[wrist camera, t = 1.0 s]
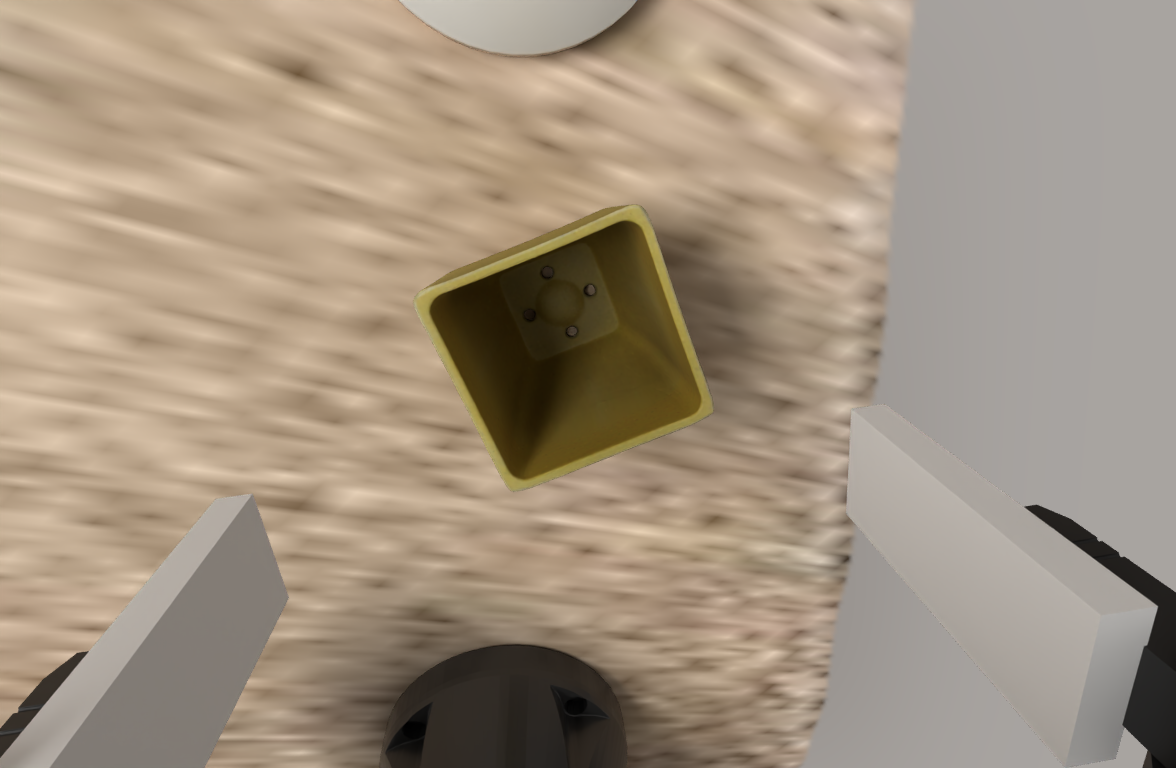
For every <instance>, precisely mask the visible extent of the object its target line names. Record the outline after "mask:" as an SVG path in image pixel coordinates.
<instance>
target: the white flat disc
mask: <svg viewBox="0 0 1176 768" xmlns="http://www.w3.org/2000/svg"><path fill="white" fill-rule="evenodd" d="M399 1H400V2H401V3H402V4H403V5H404V6H405V7H406V8H407V9H408V10H409V11H410V12H411V13H412V14H413V15H415V16H416V17H417V18H418V19H420V20H421V21H422V22H423V23H425V24H426V25H427V26H429V27H430V28H432V29H434V30H435V31H437V32H439V33H440V34H442V35H443V36H445V37H447V38H448V39H451V40H453V41H455V42H457V43H460V44H462V45H464V46H467V47H469V48H472V49H476V50H479V51H483V52H486V53H489V54H496V55H503V56H510V57H534V56H540V55H547V54H554V53H557V52H560V51H563V50H567V49H570V48H573V47H575V46H578V45H580V44H582V43H584V42H586V41H588V40H590V39H592V38H594V37H596V36H597V35H599V34H600V33H602V32H603V31H605V30H606V29H608V28H609V27H611V26H612V25H613V24H614V23H615V22H616V21H618V20H619V19H620V18H621V17H622V16H623V15H624V14H626V13H627V12H628V11H629V10H630V8H631V7H632V6H633V5H634V4H635V3H636V2H637V0H399Z"/></svg>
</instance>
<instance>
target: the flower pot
mask: <svg viewBox="0 0 1176 768" xmlns="http://www.w3.org/2000/svg"><path fill="white" fill-rule="evenodd" d="M544 267H550V268H551V269H552V270H553V275H552V277H550V278H544V277H543V276H542V269H543V268H544ZM587 285H593V286H594V287H595V293H594V294H593V295H592V296H588V295H586V294H585V292H584V289H585V287H586V286H587ZM413 304H414V308H415V310H416V312H417V314H418V317H419V318H420V320H421V322H422V324H423V326H424V328H425V330H426V331H427V333H428V335H429V337H430V339H431V341H432V343H433V345H434V347H435V349H436V351H437V353H438V355H439V357H440V358H441V360H442V362H443V364H444V366H445V368H446V370H447V372H448V374H449V375H450V377H451V379H452V381H453V383H454V385H455V387H456V389H457V391H458V393H459V395H460V397H461V399H462V401H463V403H464V405H465V407H466V409H467V411H468V413H469V415H470V417H471V419H472V421H473V423H474V425H475V426H476V428H477V430H478V432H479V434H480V436H481V438H482V440H483V442H484V444H485V446H486V449H487V451H488V452H489V454H490V456H491V458H492V460H493V462H494V464H495V466H496V468H497V470H498V472H499V474H500V476H501V478H502V479H503V481H504V483H505V484H506V486H507V487H508V488H509V490H510V491H513V492H515V491H522V490H526V489H529V488H532V487H535V486H537V485H540V484H542V483H545V482H548V481H550V480H553V479H556V478H558V477H561V476H563V475H566V474H569V473H571V472H573V471H576V470H578V469H581V468H583V467H586V466H588V465H591V464H593V463H596V462H598V461H601V460H604V459H606V458H609V457H611V456H614V455H616V454H618V453H621V452H623V451H626V450H628V449H631V448H633V447H636V446H639V445H641V444H644V443H647V442H649V441H652V440H654V439H656V438H659V437H662V436H664V435H667V434H670V433H673V432H675V431H678V430H680V429H683V428H685V427H688V426H690V425H692V424H694V423H696V422H698V421H700V420H702V419H704V418H706V417H708V416H709V415H711V414H712V413H713V411H714V404H713V399H712V396H711V393H710V391H709V388H708V385H707V382H706V379H705V376H704V373H703V371H702V368H701V365H700V363H699V360H698V357H697V354H696V352H695V349H694V346H693V343H692V340H691V337H690V335H689V332H688V329H687V326H686V323H685V320H684V318H683V315H682V312H681V309H680V306H679V303H678V300H677V297H676V294H675V291H674V288H673V286H672V283H671V280H670V277H669V274H668V270H667V267H666V264H665V261H664V258H663V255H662V252H661V249H660V246H659V243H658V240H657V237H656V234H655V231H654V228H653V226H652V223H651V221H650V218H649V216H648V214H647V212H646V210H645V209H644V208H643V207H641V206H639V205H626V206H617V207H610V208H605V209H602V210H600V211H598V212H595V213H593V214H591V215H589V216H586V217H584V218H582V219H580V220H577V221H575V222H573V223H570V224H568V225H566V226H563V227H561V228H558V229H556V230H554V231H551V232H549V233H547V234H544V235H542V236H540V237H537V238H535V239H532V240H530V241H527V242H525V243H522V244H520V245H517V246H515V247H512V248H510V249H507V250H505V251H502V252H500V253H497V254H495V255H492V256H490V257H487V258H484V259H482V260H479V261H477V262H474V263H472V264H469V265H466V266H464V267H461V268H459V269H456V270H454V271H452V272H450V273H448V274H447V275H445V276H443V277H442V278H440V279H439V280H437V281H436V282H434V283H433V284H431V285H429V286H428V287H426V288H425V289H423V290H421V291H420V292H419V293H418V294H417V295H416V296H415V298H414V300H413ZM528 309H531V310H533V311H534V312H535V317H534V318H533V319H532V320H527V319H526V318H525V317H524V312H525V311H526V310H528ZM570 326H574V327H575V328H577V334H576V335H575V336H573V337H570V336H568V335H567V333H566V330H567V328H568V327H570Z"/></svg>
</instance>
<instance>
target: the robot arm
mask: <svg viewBox="0 0 1176 768" xmlns="http://www.w3.org/2000/svg"><path fill="white" fill-rule="evenodd" d="M846 514H847V515H848V516H849V517H850V519H851V520H852V521H853V522H854V523H855V524H856V526H857V527H858V528H859V529H860V530H861V531H862V533H863V534H864V535H865V536H866V537H867V538H868V539H869V541H870V542H871V543H872V544H873V545H874V546H875V548H876V549H877V550H878V551H879V552H880V553H881V555H882V556H883V557H884V558H885V559H886V560H887V562H888V563H889V564H890V565H891V566H892V567H893V568H894V570H895V571H896V572H897V573H898V574H899V576H900V577H901V578H902V579H903V580H904V581H905V583H906V584H907V585H908V586H909V587H910V588H911V590H912V591H913V592H914V593H915V594H916V595H917V597H918V598H919V599H920V600H921V601H922V602H923V603H924V605H925V606H926V607H927V608H928V609H929V610H930V612H931V613H932V614H933V615H934V616H935V617H936V619H937V620H938V621H939V622H940V623H941V624H942V626H943V627H944V628H945V629H946V630H947V631H948V633H949V634H950V635H951V636H952V637H953V638H954V639H955V640H956V642H957V643H958V644H959V645H960V647H961V648H962V649H963V650H964V651H965V652H966V653H967V655H968V656H969V657H970V658H971V659H972V660H973V662H974V663H975V664H976V665H977V666H978V667H979V669H980V670H981V671H982V672H983V673H984V674H985V676H986V677H987V678H988V679H989V680H990V681H991V682H992V684H993V685H994V686H995V687H996V688H997V690H998V691H999V692H1000V693H1001V694H1002V695H1003V697H1004V698H1005V699H1006V700H1007V701H1008V702H1009V703H1010V705H1011V706H1012V707H1013V708H1014V709H1015V710H1016V712H1017V713H1018V714H1019V715H1020V716H1021V717H1022V718H1023V720H1024V721H1025V722H1026V723H1027V724H1028V726H1029V727H1030V728H1031V729H1032V730H1033V731H1034V733H1036V735H1037V736H1038V737H1039V738H1040V740H1042V742H1043V743H1044V744H1045V745H1046V746H1047V748H1048V749H1049V750H1050V751H1051V752H1052V753H1053V755H1054V756H1055V757H1056V758H1057V759H1058V760H1059V762H1060V763H1061V764H1062V765H1063V766H1064V767H1065V768H1067V767H1072V766H1078V765H1083V764H1089V763H1095V762H1101V761H1106V760H1112V759H1116V755H1117V752H1118V748H1119V744H1120V741H1121V737H1122V734H1123V730H1124V727H1125V728H1126V729H1127V730H1128V731H1129V732H1130V733H1131V734H1132V735H1133V736H1134V737H1135V738H1136V739H1137V740H1138V741H1139V742H1140V743H1141V744H1142V745H1143V746H1144V747H1145V748H1146V749H1147V750H1148V751H1147V755H1146V758H1145V761H1144V764H1143V768H1176V592H1174V591H1173V590H1171V589H1170V588H1169V587H1167V586H1166V585H1164V584H1163V583H1161V582H1160V581H1159V580H1157V579H1155V578H1154V577H1153V576H1151V575H1150V574H1149V573H1147V572H1146V571H1144V570H1143V569H1141V568H1140V567H1138V566H1137V565H1136V564H1134V563H1133V562H1131V561H1130V560H1129V559H1127V558H1126V557H1120V556H1119V552H1117V551H1116V550H1114V549H1113V548H1111V547H1110V546H1109V545H1107V544H1106V543H1104V542H1103V541H1100V542H1099V541H1098V540H1097V537H1096V536H1094V535H1093V534H1091V533H1090V532H1088V531H1087V530H1086V529H1084V528H1083V527H1081V526H1080V525H1078V524H1077V523H1076V522H1074V521H1073V520H1071V519H1069V518H1067V517H1065V516H1062V515H1060V514H1058V513H1055V512H1053V511H1050V510H1048V509H1046V508H1043V507H1041V506H1039V505H1032V506H1026V507H1023V506H1021V505H1020V504H1019V503H1017V502H1016V501H1015V500H1013V499H1012V498H1011V497H1009V496H1008V495H1007V494H1005V493H1004V492H1003V491H1001V490H1000V489H999V488H997V487H996V486H994V485H993V484H992V483H991V482H989V481H988V480H986V479H985V478H984V477H982V476H981V475H980V474H978V473H977V472H976V471H974V470H973V469H972V468H970V467H969V466H967V465H966V464H965V463H964V462H962V461H961V460H960V459H958V458H957V457H955V456H954V455H953V454H951V453H950V452H948V451H947V450H946V449H945V448H943V447H942V446H941V445H939V444H938V443H937V442H935V441H934V440H933V439H931V438H930V437H928V436H927V435H926V434H924V433H923V432H922V431H920V430H919V429H918V428H916V427H915V426H914V425H912V424H911V423H909V422H908V421H907V420H905V419H904V418H903V417H901V416H900V415H899V414H897V413H896V412H895V411H893V410H892V409H891V408H889V407H888V406H887V405H885V404H883V405H882V404H881V405H874V406H867V407H860V408H853V409H851V428H850V448H849V468H848V489H847V509H846ZM288 598H289V597H288V594H287V591H286V588H285V585H284V582H283V579H282V576H281V574H280V571H279V568H278V565H277V562H276V559H275V556H274V554H273V551H272V548H271V545H270V542H269V539H268V536H267V533H266V531H265V528H264V525H263V522H262V519H261V516H260V513H259V510H258V508H257V505H256V502H255V499H254V496H253V494H247V495H240V496H233V497H226V498H219V499H215V501H214V502H213V503H212V504H211V505H210V507H209V508H208V509H207V510H206V511H205V513H204V514H203V515H202V516H201V517H200V519H199V520H198V521H197V522H196V523H195V525H194V526H193V527H192V528H191V529H190V531H189V532H188V533H187V534H186V535H185V537H184V538H183V539H182V540H181V541H180V543H179V544H178V545H177V546H176V547H175V549H174V550H173V551H172V552H171V553H170V555H169V556H168V557H167V558H166V559H165V561H164V562H163V563H162V564H161V565H160V567H159V568H158V569H157V570H156V571H155V573H154V574H153V575H152V576H151V577H150V579H149V580H148V581H147V582H146V584H145V585H144V586H143V587H142V588H141V590H140V591H139V592H138V593H137V594H136V596H135V597H134V598H133V599H132V600H131V602H130V603H129V604H128V605H127V606H126V608H125V609H124V610H123V611H122V612H121V614H120V615H119V616H118V617H117V618H116V620H115V621H114V622H113V623H112V624H111V626H110V627H109V628H108V629H107V630H106V632H105V633H104V634H103V635H102V636H101V638H100V639H99V640H98V641H97V642H96V644H95V645H94V646H93V647H92V648H91V650H90V651H87V652H81V653H77V654H75V655H74V656H73V657H71V658H70V659H69V660H68V661H66V662H65V663H64V664H62V665H61V666H60V667H59V668H57V669H56V670H55V671H53V672H52V673H51V674H49V675H48V676H47V677H46V678H44V679H43V680H42V681H41V682H40V684H39V685H38V686H37V687H36V688H35V689H34V690H33V692H32V693H31V694H30V695H29V696H28V697H27V698H26V700H25V701H24V702H23V703H22V704H21V705H20V706H19V708H18V709H19V710H18V713H14V714H12V716H11V717H10V718H9V719H8V720H7V721H6V723H5V724H4V725H3V726H2V727H1V728H0V768H204V767H205V765H206V763H207V761H208V759H209V757H210V755H211V753H212V751H213V749H214V747H215V745H216V743H217V741H218V739H219V737H220V735H221V733H222V731H223V729H224V727H225V725H226V723H227V721H228V719H229V717H230V715H231V713H232V711H233V709H234V707H235V705H236V703H237V701H238V699H239V697H240V695H241V693H242V691H243V689H244V687H245V685H246V683H247V681H248V679H249V677H250V675H251V673H252V671H253V669H254V667H255V665H256V663H257V661H258V659H259V657H260V655H261V653H262V651H263V649H264V647H265V645H266V643H267V641H268V639H269V637H270V635H271V633H272V631H273V629H274V627H275V625H276V623H277V621H278V619H279V617H280V614H281V612H282V610H283V608H284V606H285V604H286V602H287V600H288ZM380 768H627V741H626V735H625V730H624V724H623V719H622V714H621V710H620V706H619V704H618V701H617V699H616V697H615V695H614V693H613V692H612V690H611V689H610V687H609V686H608V684H607V683H606V682H605V681H604V680H603V679H602V678H601V677H600V676H599V675H598V674H597V673H596V672H594V671H593V670H592V669H591V668H589V667H588V666H586V665H585V664H583V663H581V662H580V661H578V660H576V659H574V658H572V657H569V656H567V655H564V654H562V653H559V652H556V651H552V650H548V649H543V648H538V647H531V646H496V647H489V648H483V649H478V650H474V651H470V652H467V653H463V654H461V655H458V656H455V657H453V658H450V659H448V660H446V661H444V662H442V663H440V664H438V665H436V666H435V667H433V668H431V669H430V670H428V671H427V672H425V673H424V674H423V675H421V676H420V677H419V678H418V679H416V680H415V681H414V682H413V683H412V684H411V685H410V686H409V687H408V688H407V689H406V691H405V692H404V693H403V694H402V696H401V697H400V698H399V700H398V701H397V703H396V704H395V706H394V708H393V710H392V712H391V715H390V717H389V720H388V724H387V728H386V733H385V737H384V742H383V747H382V751H381V756H380Z"/></svg>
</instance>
